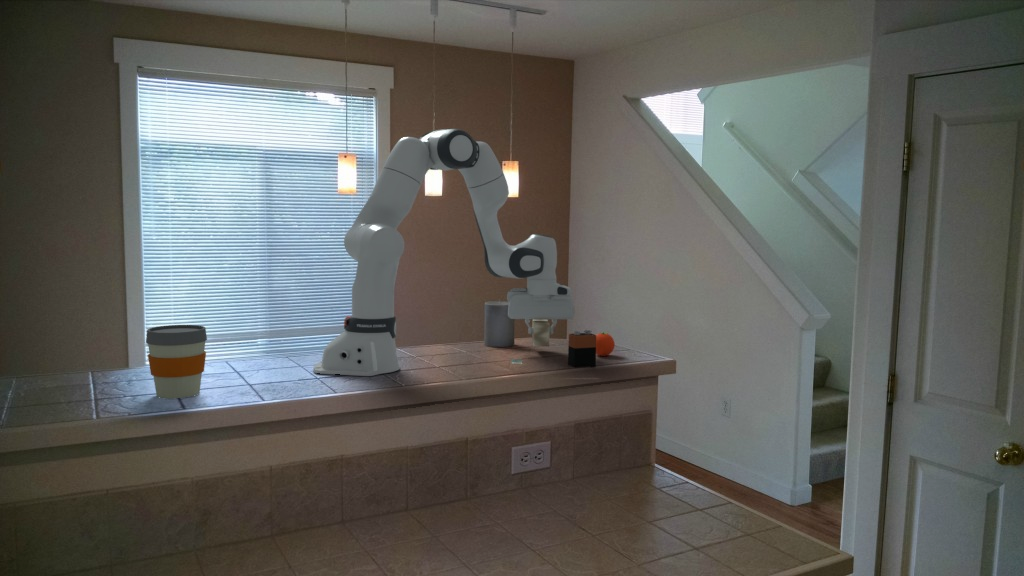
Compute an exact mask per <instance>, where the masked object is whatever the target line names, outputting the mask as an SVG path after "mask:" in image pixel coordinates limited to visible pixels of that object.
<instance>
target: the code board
mask: <svg viewBox="0 0 1024 576" xmlns="http://www.w3.org/2000/svg"><path fill="white" fill-rule="evenodd" d="M510 362H511V365H523V361H522V359H510Z"/></svg>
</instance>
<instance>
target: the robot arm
mask: <svg viewBox="0 0 1024 576" xmlns="http://www.w3.org/2000/svg"><path fill="white" fill-rule="evenodd" d="M429 170H432V171H438V170H439V171H452V170H458V171H459V172H460V174H461V175H462V177H463V179H464V182H465V185H466V188H467V191H468V194H469V195H470V198H471V201H472V209H473V214H474V218H475V222H476V225H477V229H478V232H479V234H480V237H481V241H482V244H483V249H484V250H483V251H484V265H485V268H486V270H487V271H488V273H489V274H491V276H493V277H495V278H510V279H519V280H520V279H521V280H522V279H526V278H527V279H526V281H527V282H526V287H519V288H516V287H513V288H511V289H509V290H508V291H507V293H506V301H508V302H509V306H508V317H509V318H510V319H514V320H524V323H525V324H526V326H527V328H528V334H529V335H532V334H534V332H533V331H534V328H533V327H532V326H531V325H530V323H531V320H533V319H534V320H551V322H552V324H551V326H550V330H549V335H553V334H554V329H555V327H556V325H557V324H558V320H573V319H574V318H575V316H576V310H575V301H574V299H573V297H572V296H571V294H572V289H571V288H570V287H569V286H567V285H563V284H561V283H558V282H557V274H556V268H557V267H558V266H557V265H558V249H557V243H556V240H555V239H554V238H553V237H552V236H550V235H547V234H540V233H539V234H538V233H533V234H531V235H530V236H529V237H528V238H527V239H525V240H524V241H522V242H520V243H517V244H516V245H510V244H508V243H507V242H506V241H505V239H504V237H503V234H502V230H501V228H500V227H501V226H500V224H499V220H498V212H499V210H500V209H501V208H502V207H503V206H504V205H505V203H506V201H507V200H508V198H509V195H510V194H509V193H510V192H509V185H508V181H507V179H506V176H505V174H504V170H503V169H502V166H501V163H500V162H499V160H498V158H497V156H496V155H495V153H494V150H493V149H492V148H491V146H490V145H489V144H488V143H487V142H485V141H479V140H478V141H476V140H475V139H474V138H473V137H472V136H471V134H470V133H468V132H466V131H465V130H463V129H460V128H450V129H447V128H443V129H442V128H441V129H436V130H434V131H429V132H426V133H424V134H423V135H422V136H420V137H419V138H417V137H413V136H404V137H402V138H400V139H399V140H398V141H397V142H396V143H395V145H394V146H393V148H392V150H391V151H390V152H389V154H388V157H387V158H386V160H385V162H384V164H383V166H382V168H381V170H380V173H379V175H378V178H377V180H376V183H375V185H374V187H373V189H372V191H371V194H370V196H369V198H368V199H367V201H366V203H365V204H364V205H363V207H362V208H361V210H360V212H359V214H358V215H357V216H356V219H355V220H354V222H353V224H352V225H351V227H350V228H349V229H348V230H347V232H346V233H345V236H344V238H343V245H344V249H345V251H346V252H347V254H348V255H349V256H350V257H351V258H352V259H353V260H354V261H356V262H357V268H356V273H355V278H354V281H353V283H352V286H351V315H348V316H346V317H345V318H344V321H343V329H344V331H343V332H341V333H340V334H339V335H337V336H336V337H335V338H334V339H332V340H331V341H330V342H329V343H328V344H326V346H325V347H324V349H323V352H322V358H321V361H319V362H317V363H316V364H315V365H314V366H313V370H312V371H313V373H315V374H317V373H320V374H321V375H335V374H340V376H358V377H359V376H361V377H372V376H377V375H381V374H388V373H393V372H396V371H399V370H400V369H401V366H400V363H399V359H398V354H397V346H396V335H397V321H396V320H397V319H396V316H395V289H396V288H395V287H396V279H397V275H398V270H399V264H400V260H401V257H402V256H403V254H404V250H405V240H404V237H403V236H402V234H401V233H400V231H398V227H399V226H400V225H401V223H402V222H403V220H404V219H405V218H406V216H408V215H409V214H410V212H411V210H412V207H413V205H414V204H415V200H416V199H417V195H418V194H419V191H420V189H421V186H422V185H423V181H424V179H425V176H426V174H427V173H428V172H429Z"/></svg>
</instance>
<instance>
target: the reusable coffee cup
mask: <svg viewBox="0 0 1024 576" xmlns="http://www.w3.org/2000/svg"><path fill="white" fill-rule="evenodd" d="M145 338H146V339H145V343H146V344H147V346H148V354H147V358H148V365H149V371H150V375H151V376H152V377H153V382H154V389H155V395H156V397H157V398H159V397H160V398H159V399H163V398H166V399H165V400H175V399H174V398H180V399H185V398H184V397H188V398H191V397H190V396H193V397H195V396H194V395H196V396H198V395H199V394H200V393H201V392H200V391H201V385H202V376H203V372H205V367H206V356H207V351H206V350H205V347H206V341H207V340H208V337H207V329H206V327H205V326H204V325H198V324H197V325H196V324H169V325H160V326H153V327H150V328H147V329H146V337H145ZM197 394H198V395H197Z"/></svg>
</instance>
